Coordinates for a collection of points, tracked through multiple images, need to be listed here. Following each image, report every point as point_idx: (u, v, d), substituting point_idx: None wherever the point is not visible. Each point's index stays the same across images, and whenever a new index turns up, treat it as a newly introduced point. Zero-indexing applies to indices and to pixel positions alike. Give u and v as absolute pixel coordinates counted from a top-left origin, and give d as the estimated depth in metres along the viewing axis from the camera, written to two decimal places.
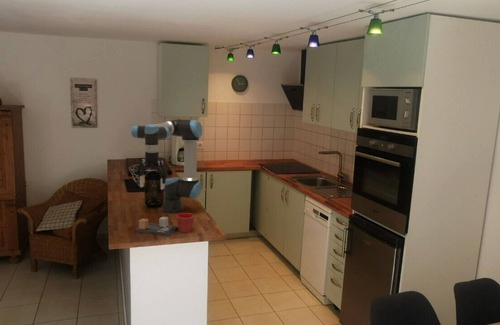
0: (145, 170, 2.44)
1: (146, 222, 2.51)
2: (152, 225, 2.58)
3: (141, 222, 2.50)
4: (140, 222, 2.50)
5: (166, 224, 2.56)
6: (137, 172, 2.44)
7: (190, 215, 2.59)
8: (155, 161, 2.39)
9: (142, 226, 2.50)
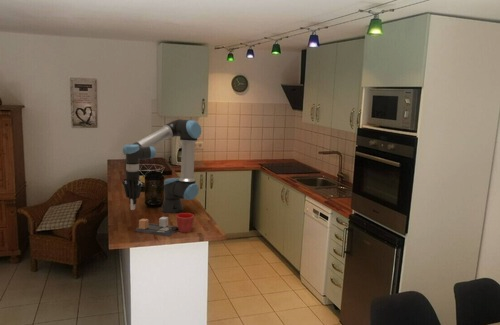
0: (132, 190, 2.51)
1: (146, 222, 2.51)
2: (152, 225, 2.58)
3: (141, 222, 2.50)
4: (140, 222, 2.50)
5: (166, 224, 2.56)
6: (127, 194, 2.50)
7: (190, 215, 2.59)
8: (136, 180, 2.47)
9: (142, 226, 2.50)
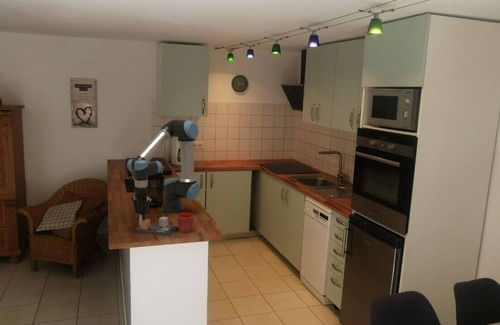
0: None
1: (148, 222, 2.50)
2: (152, 225, 2.58)
3: (143, 222, 2.49)
4: (142, 222, 2.49)
5: (166, 224, 2.56)
6: (136, 210, 2.50)
7: (190, 215, 2.59)
8: (145, 196, 2.47)
9: (144, 226, 2.49)
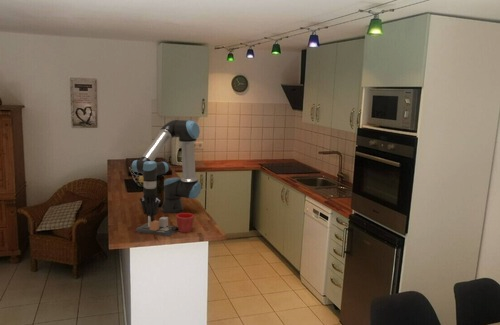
0: None
1: (157, 224, 2.49)
2: None
3: (152, 224, 2.47)
4: (151, 224, 2.48)
5: (166, 224, 2.56)
6: (144, 211, 2.49)
7: (190, 215, 2.59)
8: (154, 197, 2.45)
9: (153, 228, 2.48)
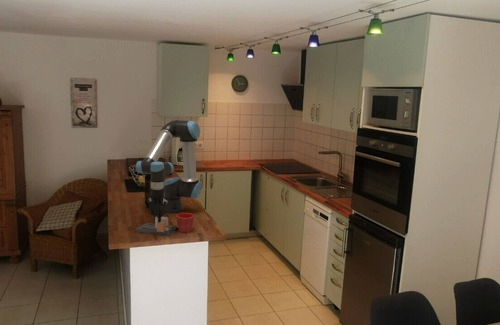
0: None
1: (164, 225, 2.47)
2: (152, 225, 2.58)
3: (159, 225, 2.46)
4: (158, 225, 2.46)
5: (166, 224, 2.56)
6: (151, 212, 2.47)
7: (190, 215, 2.59)
8: (161, 198, 2.44)
9: (160, 229, 2.46)
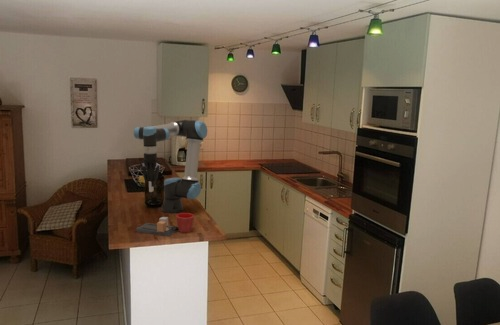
0: (150, 173, 2.52)
1: (164, 225, 2.47)
2: (152, 225, 2.58)
3: (159, 225, 2.46)
4: (158, 225, 2.46)
5: (166, 224, 2.56)
6: (145, 177, 2.51)
7: (190, 215, 2.59)
8: (154, 162, 2.47)
9: (160, 229, 2.46)
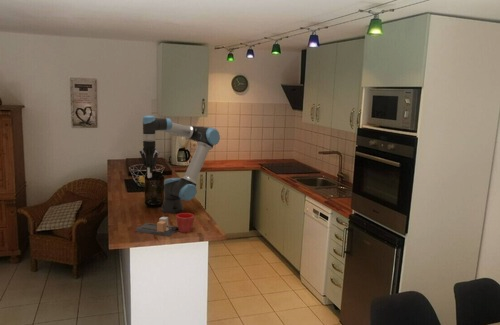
0: None
1: (164, 225, 2.47)
2: (152, 225, 2.58)
3: (159, 225, 2.46)
4: (158, 225, 2.46)
5: (166, 224, 2.56)
6: (144, 163, 2.64)
7: (190, 215, 2.59)
8: (153, 149, 2.60)
9: (160, 229, 2.46)
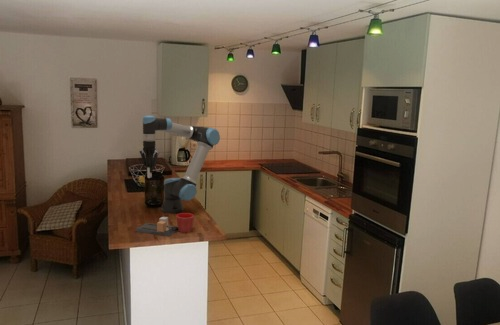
0: None
1: (164, 225, 2.47)
2: (152, 225, 2.58)
3: (159, 225, 2.46)
4: (158, 225, 2.46)
5: (166, 224, 2.56)
6: (144, 163, 2.64)
7: (190, 215, 2.59)
8: (153, 149, 2.60)
9: (160, 229, 2.46)
